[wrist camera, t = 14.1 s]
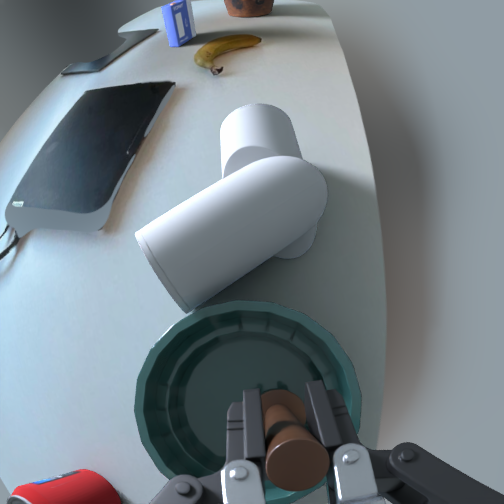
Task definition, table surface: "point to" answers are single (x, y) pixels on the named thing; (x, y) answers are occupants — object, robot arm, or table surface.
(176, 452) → the bowl
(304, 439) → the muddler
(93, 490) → the beverage can
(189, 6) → the walkman
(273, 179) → the elbow connector
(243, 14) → the brown pot
